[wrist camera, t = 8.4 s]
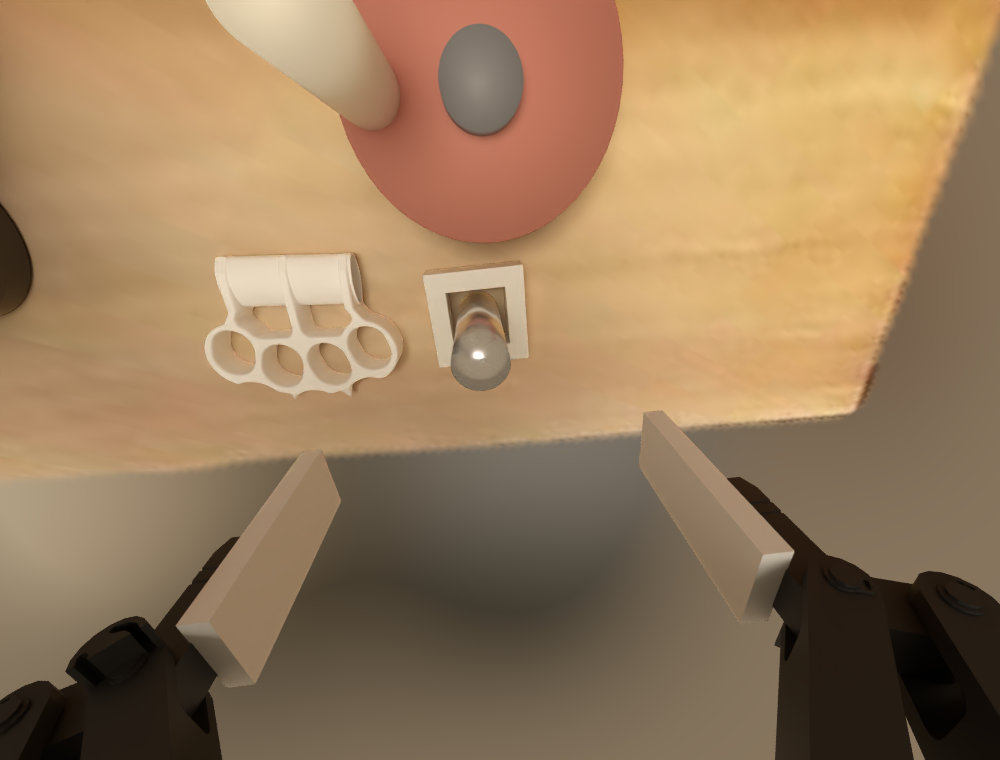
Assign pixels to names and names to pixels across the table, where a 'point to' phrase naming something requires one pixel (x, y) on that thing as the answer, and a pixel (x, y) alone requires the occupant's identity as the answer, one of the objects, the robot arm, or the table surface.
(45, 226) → the table surface
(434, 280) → the eye block
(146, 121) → the table surface
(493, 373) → the steel pin
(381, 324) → the knuckle duster
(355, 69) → the handwheel
